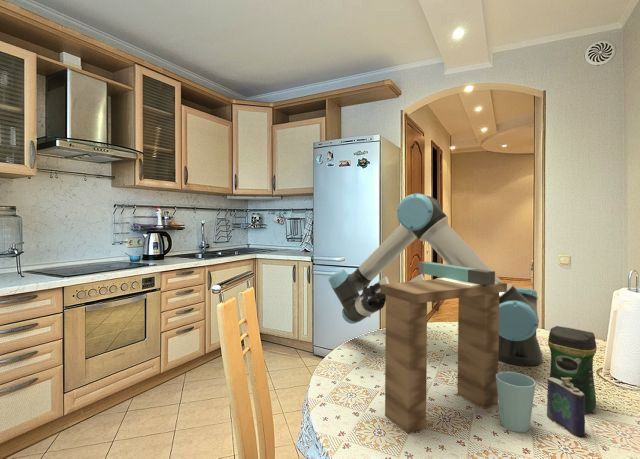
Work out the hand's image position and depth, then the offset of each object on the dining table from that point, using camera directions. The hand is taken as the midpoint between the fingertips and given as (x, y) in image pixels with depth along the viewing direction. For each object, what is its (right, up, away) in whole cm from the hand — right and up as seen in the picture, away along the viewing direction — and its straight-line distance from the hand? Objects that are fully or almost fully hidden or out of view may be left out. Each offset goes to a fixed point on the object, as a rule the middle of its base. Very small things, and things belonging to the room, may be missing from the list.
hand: (405, 279), depth 109 cm
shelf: (+4, -28, -22) cm, 36 cm away
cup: (+17, -28, -29) cm, 44 cm away
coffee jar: (+36, -28, -20) cm, 50 cm away
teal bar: (+8, +3, -16) cm, 18 cm away
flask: (+28, -28, -29) cm, 49 cm away
